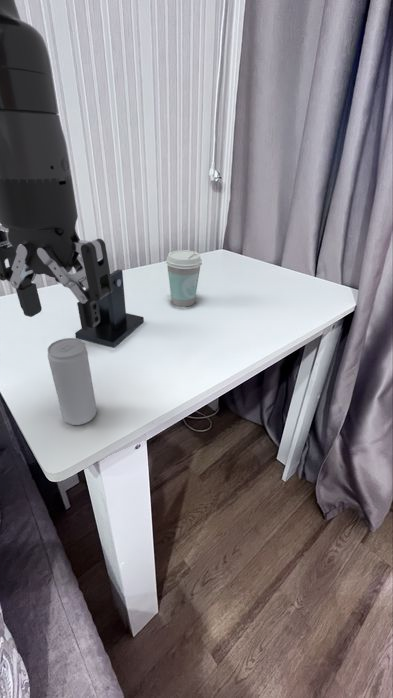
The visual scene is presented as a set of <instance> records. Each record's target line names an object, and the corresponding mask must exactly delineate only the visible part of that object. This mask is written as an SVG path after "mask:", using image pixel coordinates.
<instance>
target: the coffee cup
mask: <svg viewBox="0 0 393 698" xmlns="http://www.w3.org/2000/svg"><path fill="white" fill-rule="evenodd" d="M165 264H166V266H167V274H168V282H169V284H168V285H169V291H170V299H171V303H172V305H174V306H175V307H176V306H177V307H190V306H193V305H195V302H196V298H197V297H196V296H197V290H198V285H199V284H198V283H199V277H200V276H199V275H200V271H201V266H202V265H203V262H202V258H201V254H200V253H199V252H198V251H197V252H196V251H195V250H194V251H193V250H187V249H178V250H173V251H170V252H168V254H167V257H166V259H165Z"/></svg>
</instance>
